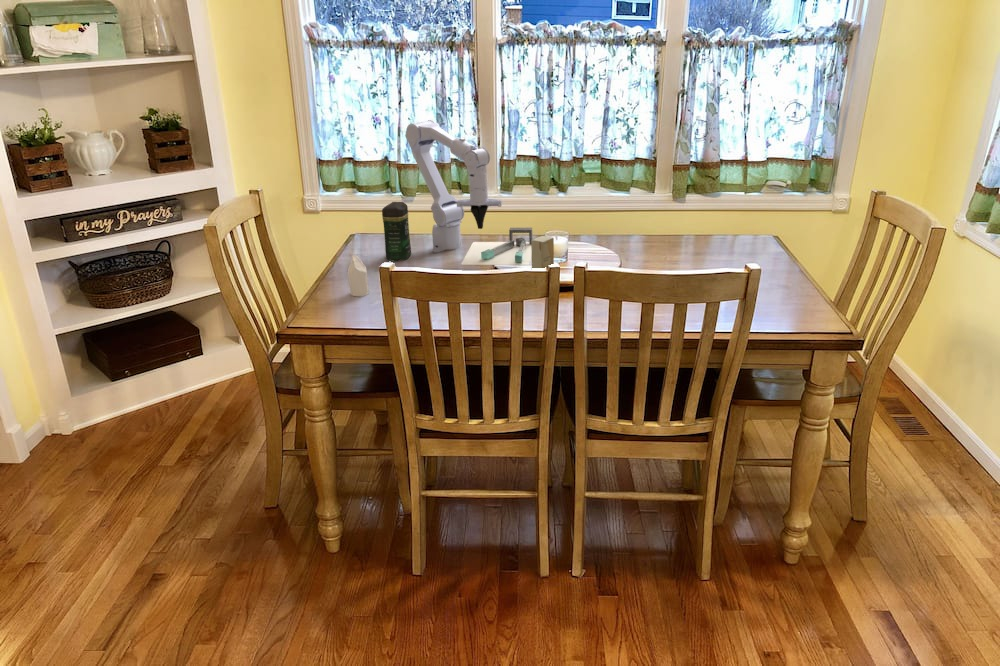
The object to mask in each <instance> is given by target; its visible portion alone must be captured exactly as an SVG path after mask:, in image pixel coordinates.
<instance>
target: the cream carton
mask: <svg viewBox="0 0 1000 666" xmlns="http://www.w3.org/2000/svg"><path fill="white" fill-rule="evenodd" d="M347 278H348V283H349V284H348V285H349V291H350V295H351V296H353V297H364V296H367V295H368V294H370V287H369V279H368V271H367V267H366V265H365V264H364V263H363V261H362V260H361V259H360V257H359V256H358V255H357V254H352V255H351V261H350V264H349V266H348V269H347Z"/></svg>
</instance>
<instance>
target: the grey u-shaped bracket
mask: <svg viewBox="0 0 1000 666" xmlns="http://www.w3.org/2000/svg"><path fill="white" fill-rule="evenodd" d="M508 231H509V233H508V234H509V235H508V237H509V241H511V240H513V241H514V234H529V235H528V236H529V238H528V240H529V241H528V242H529V244H531V240H533V227H509V230H508Z"/></svg>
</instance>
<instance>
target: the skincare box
mask: <svg viewBox="0 0 1000 666" xmlns="http://www.w3.org/2000/svg"><path fill="white" fill-rule="evenodd" d="M554 238H555V237H554V236H553V237H551V236H547V235H541V236H539V237H536V238H534V239H533V240H531V249H532V258H531V269H532V268H545V267H547V266H548V265H551V264H554V261H555V260H554V249H555V247H554V244H555V243H554V240H555V239H554Z"/></svg>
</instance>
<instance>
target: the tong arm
mask: <svg viewBox="0 0 1000 666" xmlns="http://www.w3.org/2000/svg"><path fill="white" fill-rule="evenodd" d="M505 242H506V243H504V244H502V245H500V246H497V247H495V248H493V249H491V250H490V249H488V250H485V251H483V252H481V259H485V260H488V259H490V258H492V257H494V256H495V255H497V254H499V253H501V252H503V251H505V250H508V249H510V248H512V247H514V242H515V240H514V239H513V240H511V241H510V240H509V241H505Z"/></svg>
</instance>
